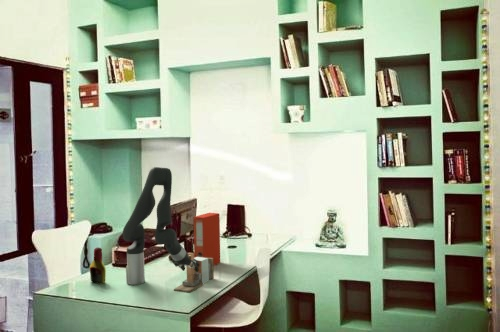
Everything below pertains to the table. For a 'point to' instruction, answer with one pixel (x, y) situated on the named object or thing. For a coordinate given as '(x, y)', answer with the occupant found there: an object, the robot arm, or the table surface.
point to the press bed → (190, 288)
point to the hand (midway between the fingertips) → (191, 269)
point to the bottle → (97, 267)
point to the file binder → (207, 236)
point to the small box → (203, 269)
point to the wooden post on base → (192, 275)
